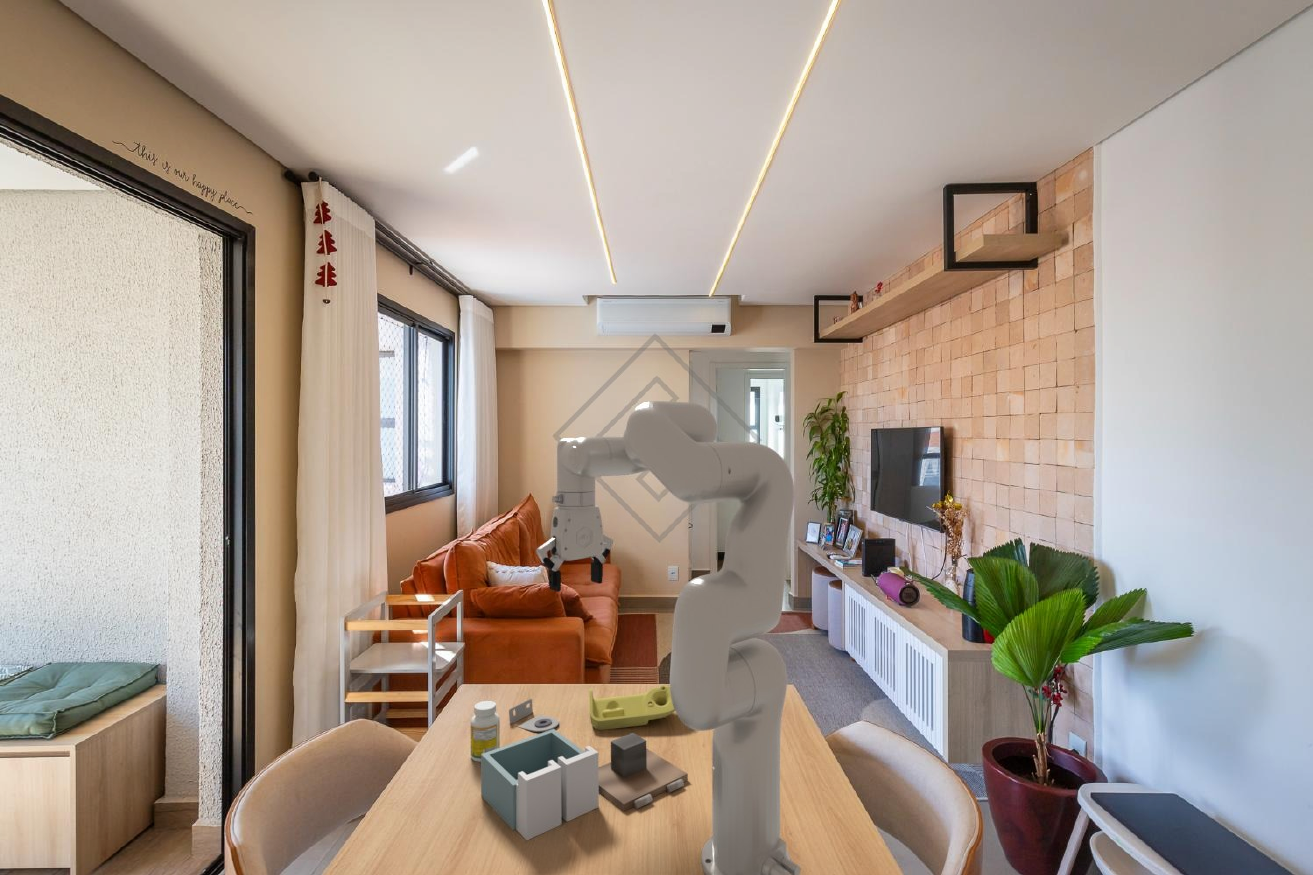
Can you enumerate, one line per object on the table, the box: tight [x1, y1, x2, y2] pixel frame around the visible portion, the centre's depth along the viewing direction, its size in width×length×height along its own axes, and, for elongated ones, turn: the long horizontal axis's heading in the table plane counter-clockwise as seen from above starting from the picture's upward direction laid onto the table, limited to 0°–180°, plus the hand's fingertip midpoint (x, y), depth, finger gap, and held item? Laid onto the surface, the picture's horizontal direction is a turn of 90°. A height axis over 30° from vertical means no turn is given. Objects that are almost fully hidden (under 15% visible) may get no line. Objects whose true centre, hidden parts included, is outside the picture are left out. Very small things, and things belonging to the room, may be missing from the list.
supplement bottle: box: [470, 700, 501, 763], centre depth 116 cm, size 5×5×10 cm
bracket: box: [508, 698, 560, 733], centre depth 129 cm, size 7×10×4 cm, turn 57°
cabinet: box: [480, 728, 600, 841], centre depth 102 cm, size 15×14×9 cm
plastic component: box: [588, 684, 675, 731], centre depth 132 cm, size 20×7×10 cm
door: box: [598, 732, 689, 812], centre depth 108 cm, size 13×14×6 cm
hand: (576, 586), depth 121 cm, fingers open, 9 cm apart
